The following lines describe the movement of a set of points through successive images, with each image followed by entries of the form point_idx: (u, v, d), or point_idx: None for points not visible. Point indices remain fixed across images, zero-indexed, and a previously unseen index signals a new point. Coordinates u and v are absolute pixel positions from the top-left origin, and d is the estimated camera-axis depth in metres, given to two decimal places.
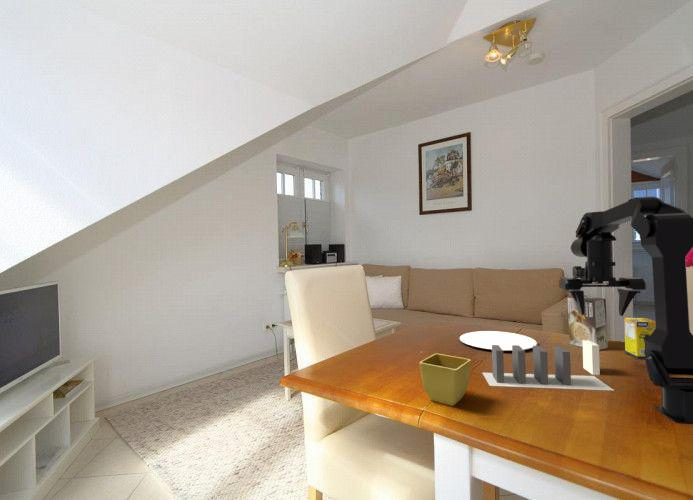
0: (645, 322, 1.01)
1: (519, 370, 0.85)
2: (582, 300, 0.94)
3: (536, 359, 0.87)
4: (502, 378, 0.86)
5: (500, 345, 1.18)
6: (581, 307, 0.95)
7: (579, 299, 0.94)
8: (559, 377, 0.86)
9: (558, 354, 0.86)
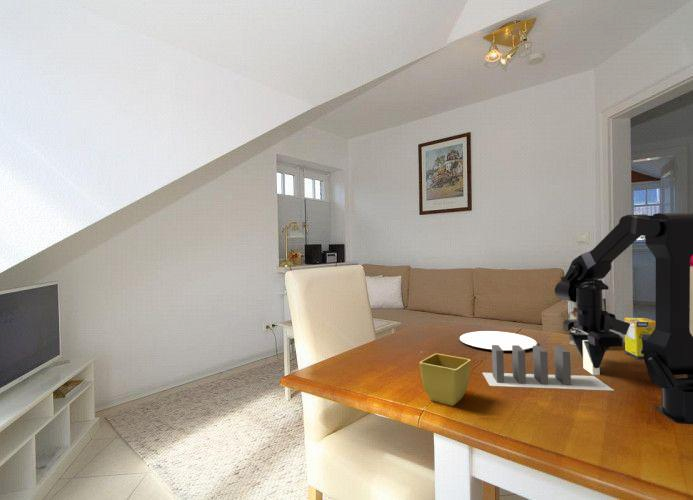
0: (645, 322, 1.01)
1: (519, 370, 0.85)
2: (576, 344, 0.95)
3: (536, 359, 0.87)
4: (502, 378, 0.86)
5: (500, 345, 1.18)
6: (580, 351, 0.95)
7: (574, 342, 0.96)
8: (559, 377, 0.86)
9: (558, 354, 0.86)
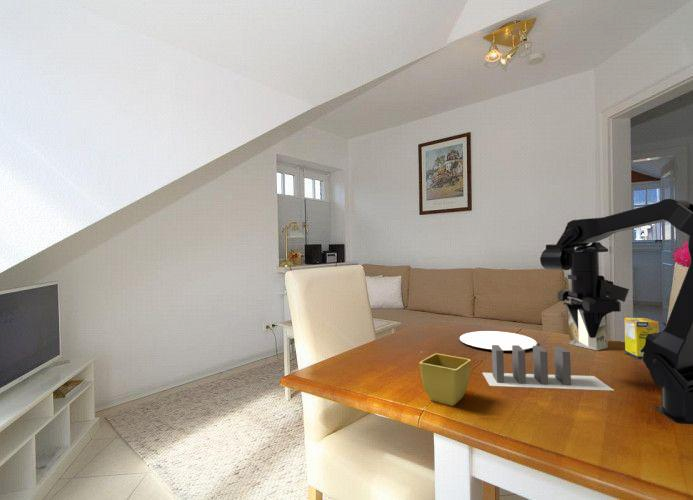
0: (645, 322, 1.01)
1: (519, 370, 0.85)
2: (571, 314, 0.89)
3: (536, 359, 0.87)
4: (502, 378, 0.86)
5: (500, 345, 1.18)
6: (575, 322, 0.88)
7: (569, 313, 0.89)
8: (559, 377, 0.86)
9: (558, 354, 0.86)
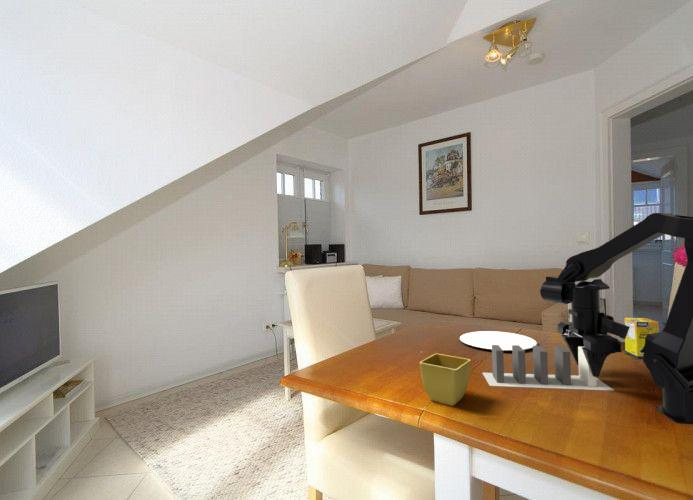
0: (645, 322, 1.01)
1: (519, 370, 0.85)
2: (569, 347, 0.89)
3: (536, 359, 0.87)
4: (502, 378, 0.86)
5: (500, 345, 1.18)
6: (573, 355, 0.89)
7: (567, 345, 0.90)
8: (559, 377, 0.86)
9: (558, 354, 0.86)
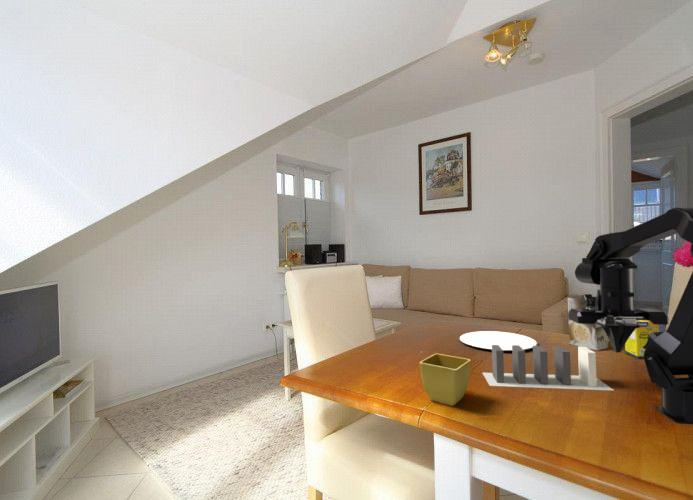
0: (645, 322, 1.01)
1: (519, 370, 0.85)
2: (618, 335, 0.82)
3: (536, 359, 0.87)
4: (502, 378, 0.86)
5: (500, 345, 1.18)
6: (616, 343, 0.82)
7: (614, 335, 0.82)
8: (559, 377, 0.86)
9: (558, 354, 0.86)
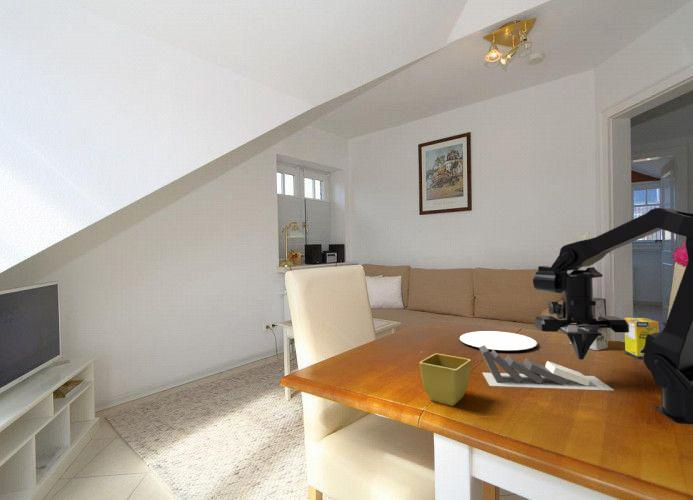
0: (645, 322, 1.01)
1: (508, 373, 0.86)
2: (581, 343, 0.83)
3: None
4: (500, 376, 0.86)
5: (500, 345, 1.18)
6: (579, 350, 0.84)
7: (577, 342, 0.83)
8: None
9: None
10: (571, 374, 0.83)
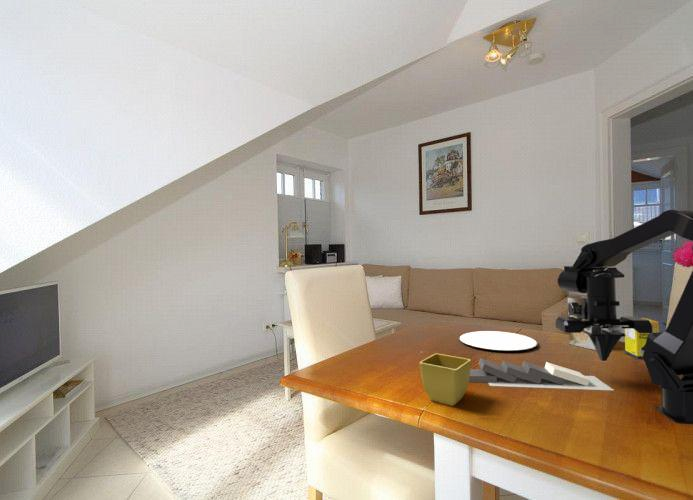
0: None
1: (501, 377, 0.86)
2: (604, 344, 0.82)
3: None
4: (491, 377, 0.86)
5: (500, 345, 1.18)
6: (602, 352, 0.83)
7: (600, 343, 0.82)
8: None
9: None
10: (570, 375, 0.83)
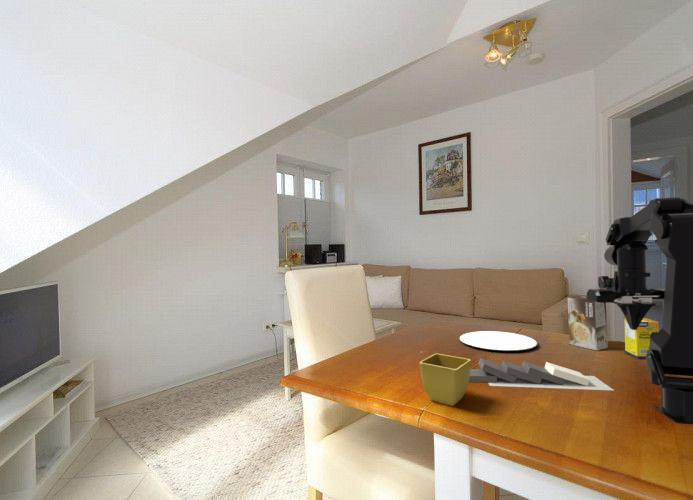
0: (645, 322, 1.01)
1: (501, 377, 0.86)
2: (635, 313, 0.86)
3: None
4: (491, 377, 0.86)
5: (500, 345, 1.18)
6: (633, 321, 0.87)
7: (631, 313, 0.86)
8: None
9: None
10: (570, 375, 0.83)
